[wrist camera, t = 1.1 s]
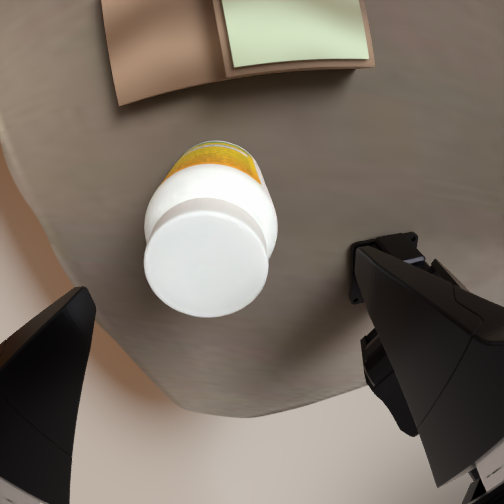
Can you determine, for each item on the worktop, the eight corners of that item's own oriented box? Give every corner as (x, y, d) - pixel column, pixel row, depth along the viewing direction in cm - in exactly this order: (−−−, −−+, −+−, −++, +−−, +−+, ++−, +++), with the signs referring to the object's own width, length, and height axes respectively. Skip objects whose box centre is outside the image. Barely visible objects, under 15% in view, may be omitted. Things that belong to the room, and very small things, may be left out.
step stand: (356, 68, 17) (377, 66, 14) (126, 105, 17) (108, 108, 14) (332, -47, 12) (347, -64, 9) (107, -14, 12) (89, -27, 9)
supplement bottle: (276, 196, 22) (317, 293, 12) (203, 237, 23) (189, 351, 13) (231, 121, 19) (235, 153, 9) (155, 169, 20) (92, 249, 10)
